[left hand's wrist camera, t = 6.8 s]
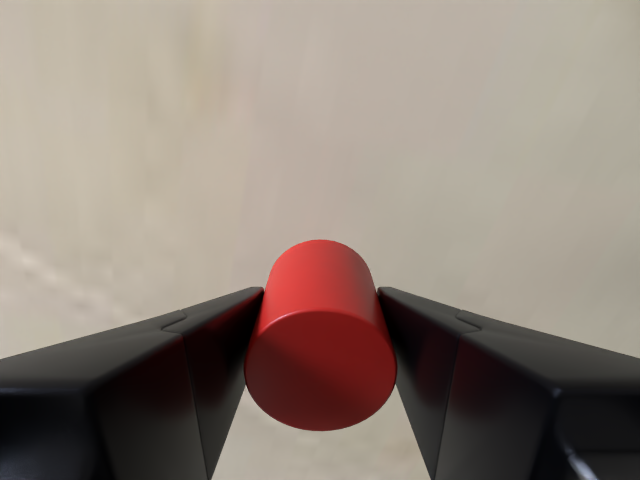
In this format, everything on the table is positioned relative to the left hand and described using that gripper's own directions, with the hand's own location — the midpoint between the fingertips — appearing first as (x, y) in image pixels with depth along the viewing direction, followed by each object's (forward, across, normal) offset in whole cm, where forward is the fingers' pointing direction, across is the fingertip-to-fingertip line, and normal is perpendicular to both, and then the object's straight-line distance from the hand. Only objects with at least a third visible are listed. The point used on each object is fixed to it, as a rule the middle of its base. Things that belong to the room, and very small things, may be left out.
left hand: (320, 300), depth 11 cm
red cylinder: (+1, 0, 0) cm, 1 cm away
